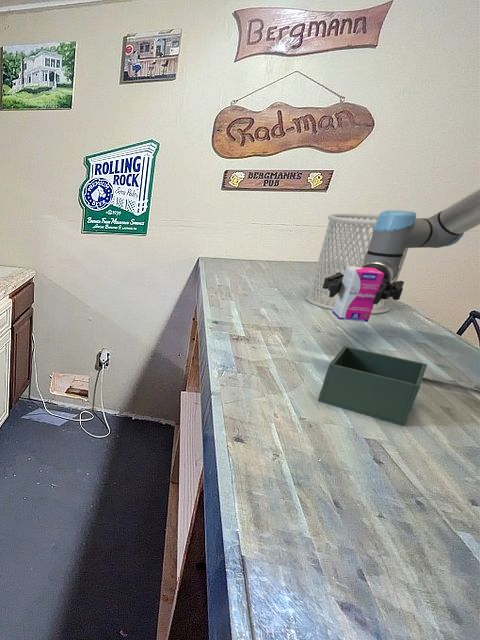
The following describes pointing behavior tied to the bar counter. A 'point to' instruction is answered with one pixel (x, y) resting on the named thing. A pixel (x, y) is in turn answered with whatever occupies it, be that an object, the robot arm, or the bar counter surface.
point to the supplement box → (357, 293)
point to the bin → (372, 384)
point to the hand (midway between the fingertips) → (354, 294)
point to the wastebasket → (344, 256)
